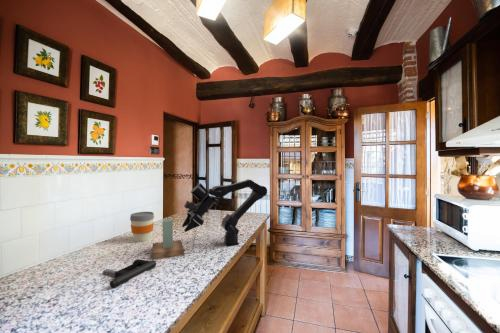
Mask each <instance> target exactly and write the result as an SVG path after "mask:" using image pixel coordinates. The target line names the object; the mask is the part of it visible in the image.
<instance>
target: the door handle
mask: <svg viewBox="0 0 500 333" xmlns="http://www.w3.org/2000/svg"><path fill="white" fill-rule="evenodd" d="M156 266H157V261H156V260H155V259H154V260H153V259H152V260H145V259H140V258H137V259H135V260H134V261H133V262H132V264H130V265H128V266H126V267H123V268H121V269H119V270H114V269H112V270H111V269H108V268H106V269H104V270H102V274H103V275H105V276H109V277H112V278H113V279H112V280H110V281H109V286H110V288H112V289H113V288H117V287H119V286H121V285H123V284H125V283H126V282H131V281H133V280H135V279H137V278H138V277H141V276H143V275H145V274H146V273H148V271H150V270H152V269H155V267H156Z"/></svg>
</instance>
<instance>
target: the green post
mask: <svg viewBox="0 0 500 333" xmlns="http://www.w3.org/2000/svg"><path fill="white" fill-rule="evenodd" d="M173 226H174V224H173V219H172V218H169V219H168V218H165V219H162V242H163V248H170V247H173V241H174V237H173V236H174V235H173V234H174V233H173V231H174V227H173Z"/></svg>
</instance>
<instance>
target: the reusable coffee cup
mask: <svg viewBox="0 0 500 333" xmlns="http://www.w3.org/2000/svg"><path fill="white" fill-rule="evenodd" d="M129 218H130V219H129V220H130V228H131V233H132V237H133V238H132V239H133V242H134V243H146V242H150V240H152V232H153V230H154V224H155V222H154V218H155V215H154V212H153V211H138V212H134V213H133V212H132V213H131V214H130V217H129Z"/></svg>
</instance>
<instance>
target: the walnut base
mask: <svg viewBox="0 0 500 333" xmlns="http://www.w3.org/2000/svg"><path fill="white" fill-rule="evenodd" d="M184 255H185V248H184V246H183V242H182V240H181V239H178V240H173V247H170V248H163V241H162V242H161V241H160V242H155V243H154V242H153V243H152V260H154V261H155V260H160V259H161V260H162V259H167V258H174V257H182V256H184Z"/></svg>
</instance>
